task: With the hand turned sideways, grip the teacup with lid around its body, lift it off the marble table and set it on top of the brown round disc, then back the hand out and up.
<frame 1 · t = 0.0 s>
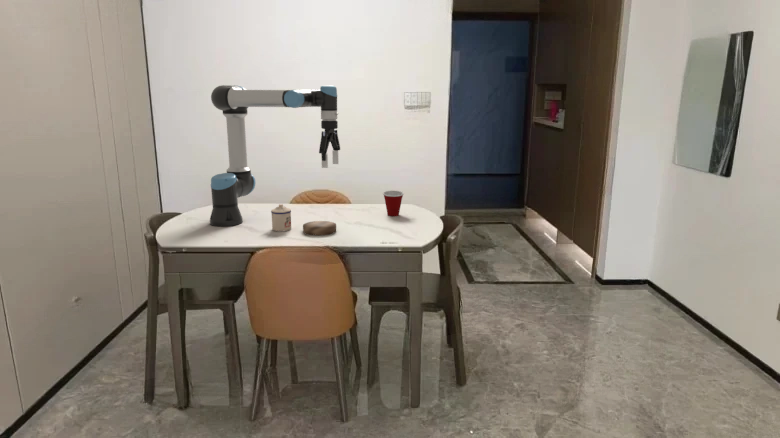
hand: (330, 165, 255), 28 cm above the table, tool pointing down, fingers open, 13 cm apart
teacup with lid: (282, 228, 251), on the table
plastic cup: (393, 215, 279), on the table
brown round disc: (319, 231, 247), on the table
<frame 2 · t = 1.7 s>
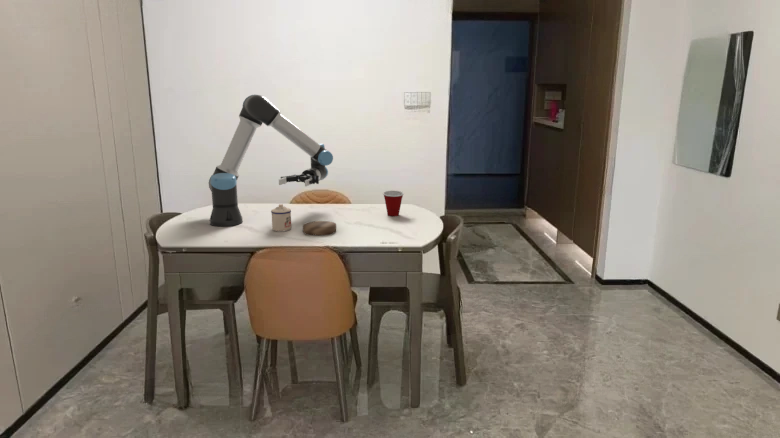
hand: (292, 182, 258), 20 cm above the table, tool horizontal, fingers open, 13 cm apart
nothing on the table moved.
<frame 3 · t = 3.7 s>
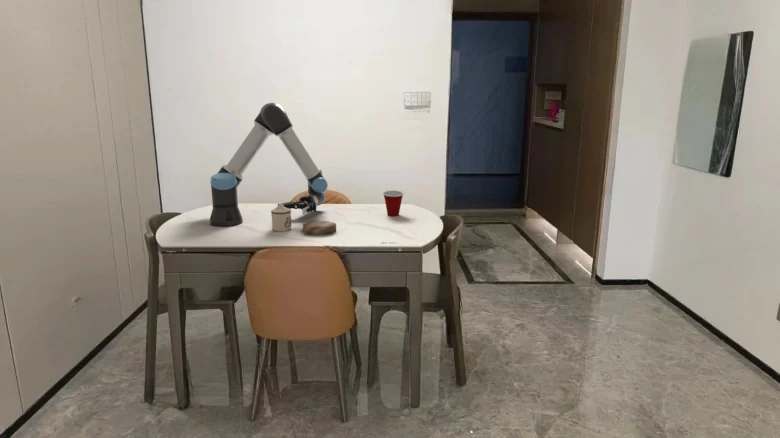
hand: (289, 211, 256), 7 cm above the table, tool horizontal, fingers open, 13 cm apart
nothing on the table moved.
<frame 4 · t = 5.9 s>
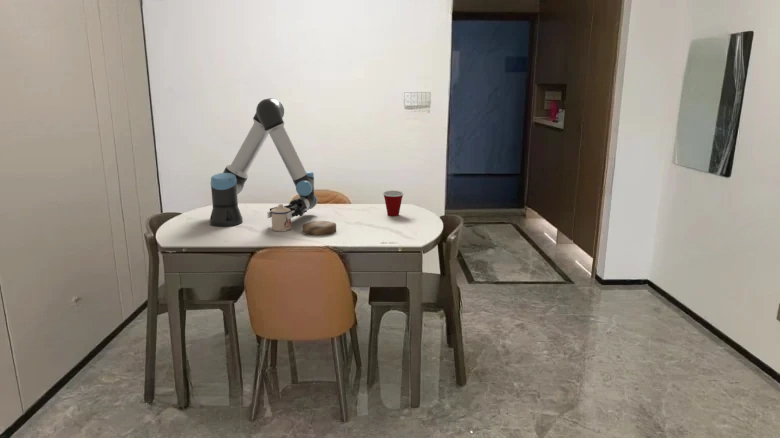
hand: (278, 215, 246), 7 cm above the table, tool horizontal, fingers closed on teacup with lid, 9 cm apart
teacup with lid: (282, 228, 251), on the table, touching gripper
everything else where it was.
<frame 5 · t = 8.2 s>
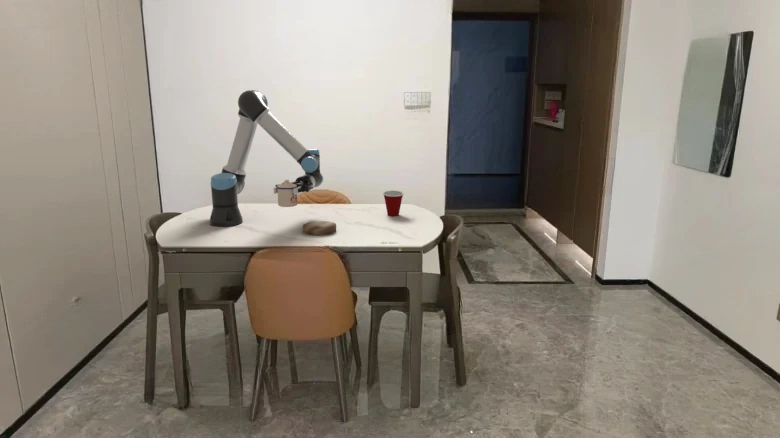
hand: (284, 191, 242), 18 cm above the table, tool horizontal, fingers closed on teacup with lid, 9 cm apart
teacup with lid: (288, 205, 248), point 11 cm above the table, touching gripper
everything else where it was.
when the fingers open (12 cm above the table, at t = 10.7 s): teacup with lid drops 2 cm, resting on brown round disc.
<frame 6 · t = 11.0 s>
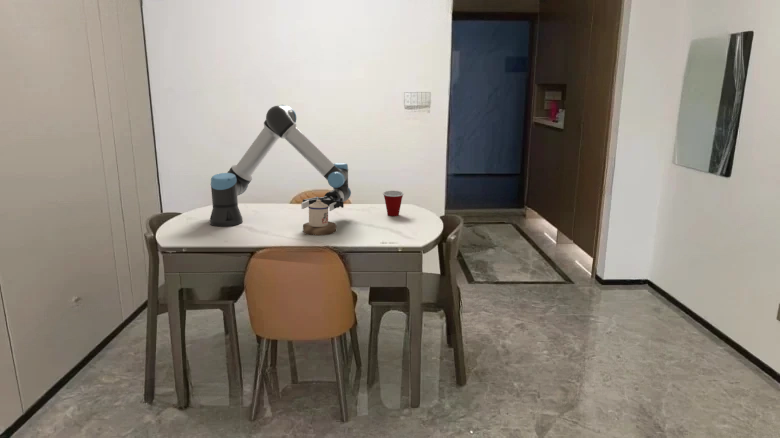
hand: (316, 206, 241), 12 cm above the table, tool horizontal, fingers open, 13 cm apart
teacup with lid: (319, 225, 246), point 3 cm above the table, touching brown round disc
everything else where it was.
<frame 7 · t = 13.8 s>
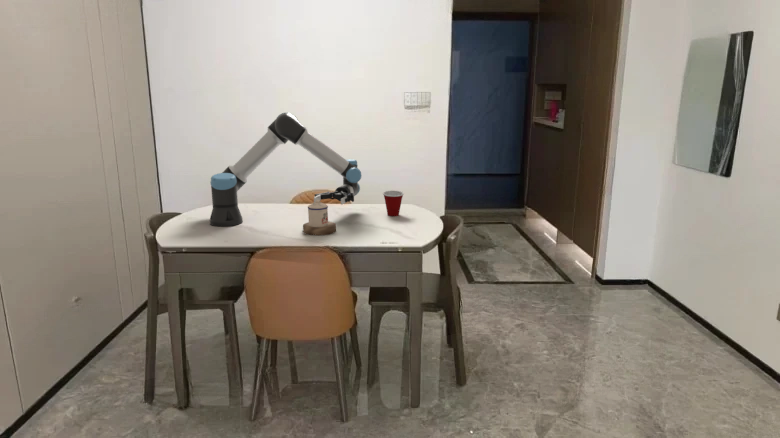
hand: (327, 200, 254), 12 cm above the table, tool horizontal, fingers open, 13 cm apart
nothing on the table moved.
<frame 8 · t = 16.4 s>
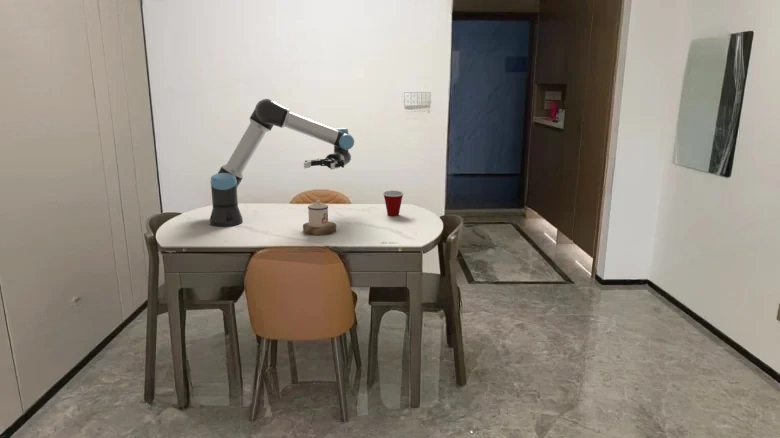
hand: (317, 166, 253), 28 cm above the table, tool horizontal, fingers open, 13 cm apart
nothing on the table moved.
at the end: teacup with lid inside the target area on the brown round disc (0.1 cm from its centre), point 2.8 cm above the brown round disc's base; teacup with lid tilted 0°; the gripper is holding nothing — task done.
